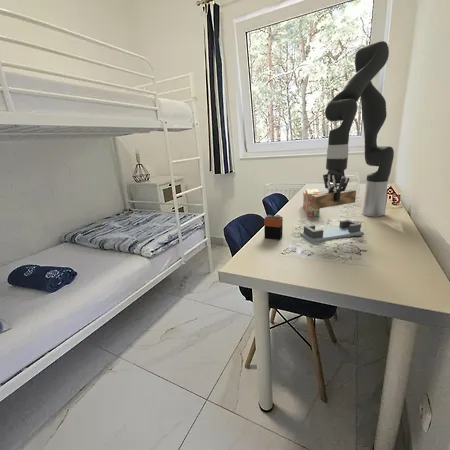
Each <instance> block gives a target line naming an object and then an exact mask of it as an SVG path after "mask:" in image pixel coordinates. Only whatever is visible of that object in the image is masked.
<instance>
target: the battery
mask: <svg viewBox="0 0 450 450" xmlns="http://www.w3.org/2000/svg"><path fill="white" fill-rule="evenodd" d="M283 218H284V217H283V216H281V215H279V214H275V215H271V214H267V215H266V216H265V217H264V219H263V220H264V221H263V222H264V223H263V224H264V226H263V228H264V229H263V230H264V239H268V240H269V239H270V240H276V241H280V240H281V239H282V237H283V229H284V228H283V221H284V220H283Z"/></svg>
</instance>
